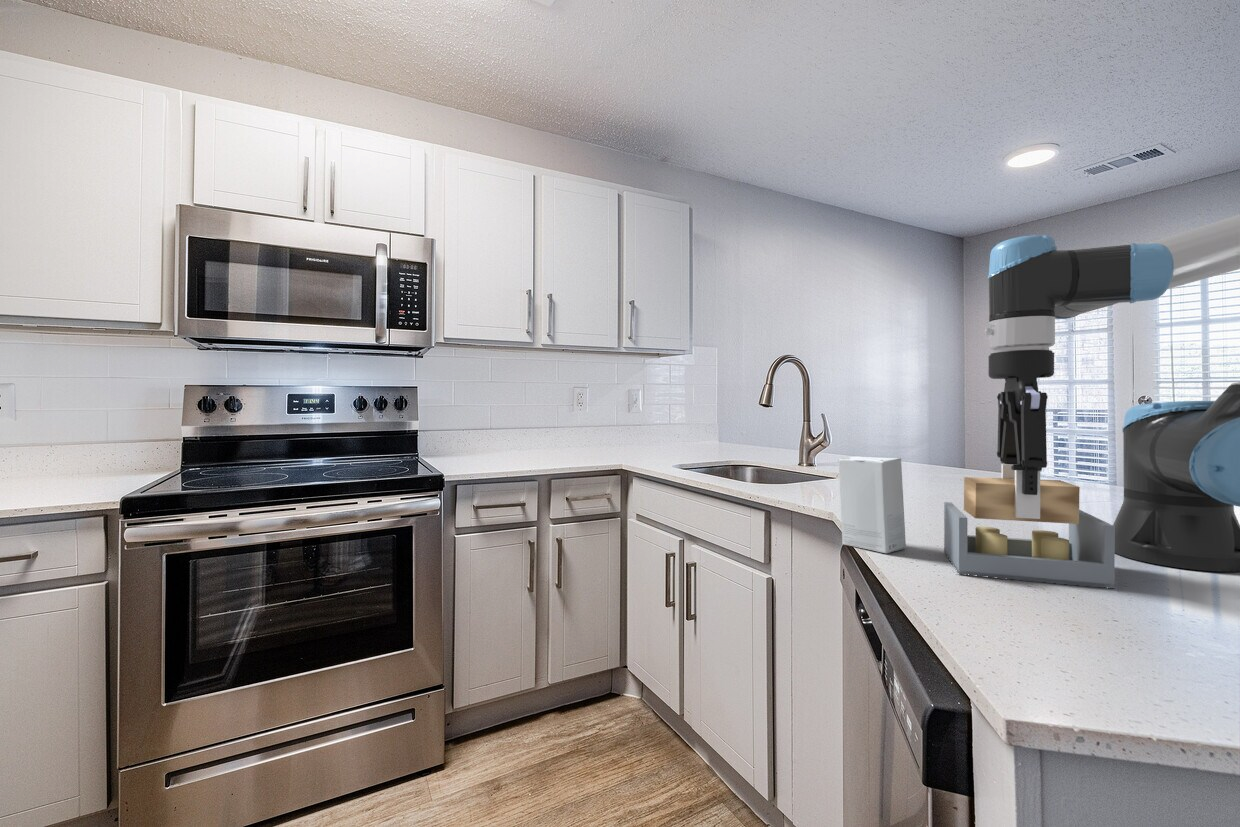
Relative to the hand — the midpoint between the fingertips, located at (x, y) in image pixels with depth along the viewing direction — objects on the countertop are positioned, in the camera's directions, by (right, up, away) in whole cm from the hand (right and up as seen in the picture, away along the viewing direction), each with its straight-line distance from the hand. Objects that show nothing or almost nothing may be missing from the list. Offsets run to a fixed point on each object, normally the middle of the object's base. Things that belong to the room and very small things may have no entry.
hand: (1019, 512), depth 78 cm
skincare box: (-15, -8, +13) cm, 22 cm away
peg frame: (0, -8, 0) cm, 8 cm away
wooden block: (0, -1, 0) cm, 1 cm away
